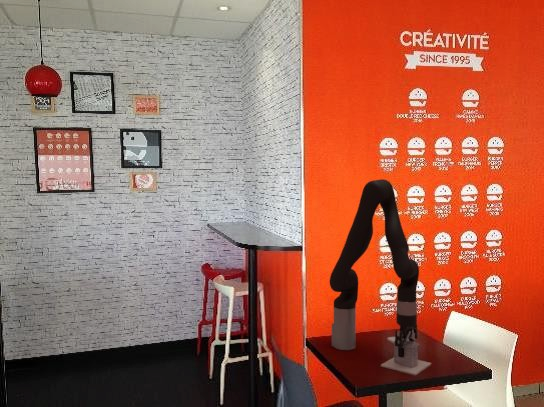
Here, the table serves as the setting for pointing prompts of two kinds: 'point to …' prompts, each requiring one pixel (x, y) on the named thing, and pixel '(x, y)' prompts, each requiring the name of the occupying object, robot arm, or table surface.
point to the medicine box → (407, 354)
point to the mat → (406, 367)
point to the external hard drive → (393, 340)
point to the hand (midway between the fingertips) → (406, 353)
